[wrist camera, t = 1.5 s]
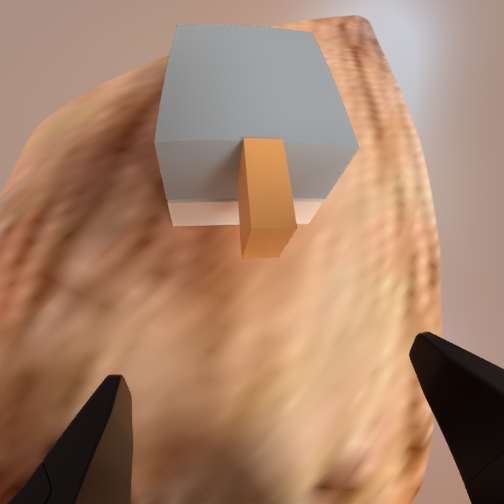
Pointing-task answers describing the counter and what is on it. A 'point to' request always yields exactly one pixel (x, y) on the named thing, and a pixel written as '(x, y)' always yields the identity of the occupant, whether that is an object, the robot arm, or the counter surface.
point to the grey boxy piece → (251, 126)
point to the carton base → (228, 211)
